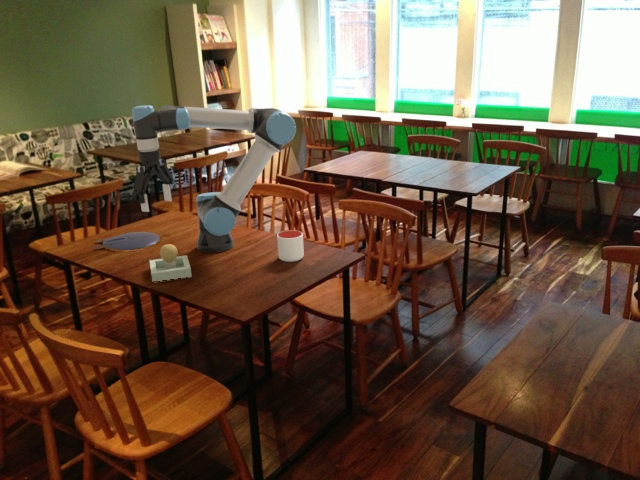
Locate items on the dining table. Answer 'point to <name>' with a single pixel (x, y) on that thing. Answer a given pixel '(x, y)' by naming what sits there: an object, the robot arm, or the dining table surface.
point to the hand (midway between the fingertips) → (157, 206)
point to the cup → (290, 245)
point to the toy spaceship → (130, 241)
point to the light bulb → (169, 255)
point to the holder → (162, 274)
